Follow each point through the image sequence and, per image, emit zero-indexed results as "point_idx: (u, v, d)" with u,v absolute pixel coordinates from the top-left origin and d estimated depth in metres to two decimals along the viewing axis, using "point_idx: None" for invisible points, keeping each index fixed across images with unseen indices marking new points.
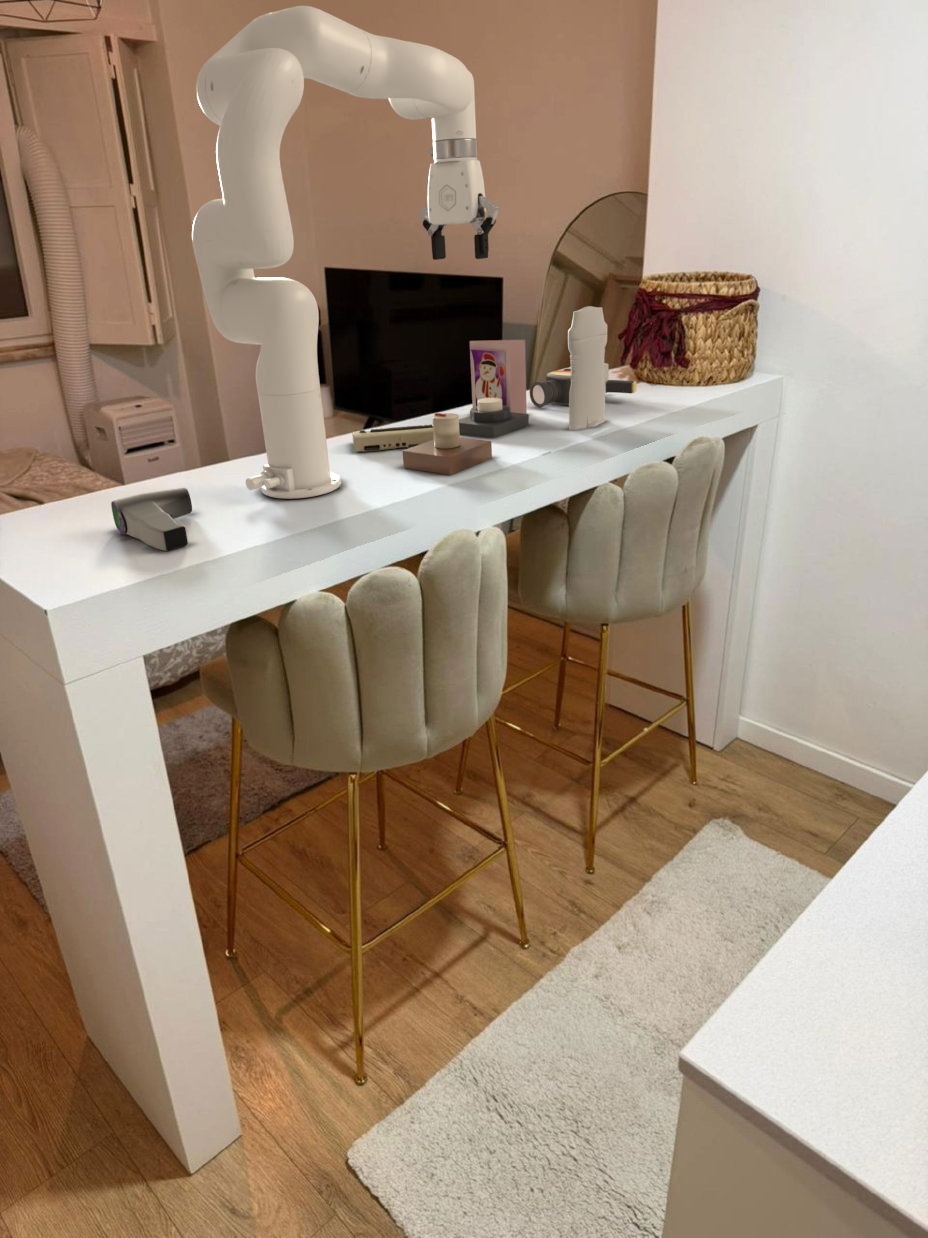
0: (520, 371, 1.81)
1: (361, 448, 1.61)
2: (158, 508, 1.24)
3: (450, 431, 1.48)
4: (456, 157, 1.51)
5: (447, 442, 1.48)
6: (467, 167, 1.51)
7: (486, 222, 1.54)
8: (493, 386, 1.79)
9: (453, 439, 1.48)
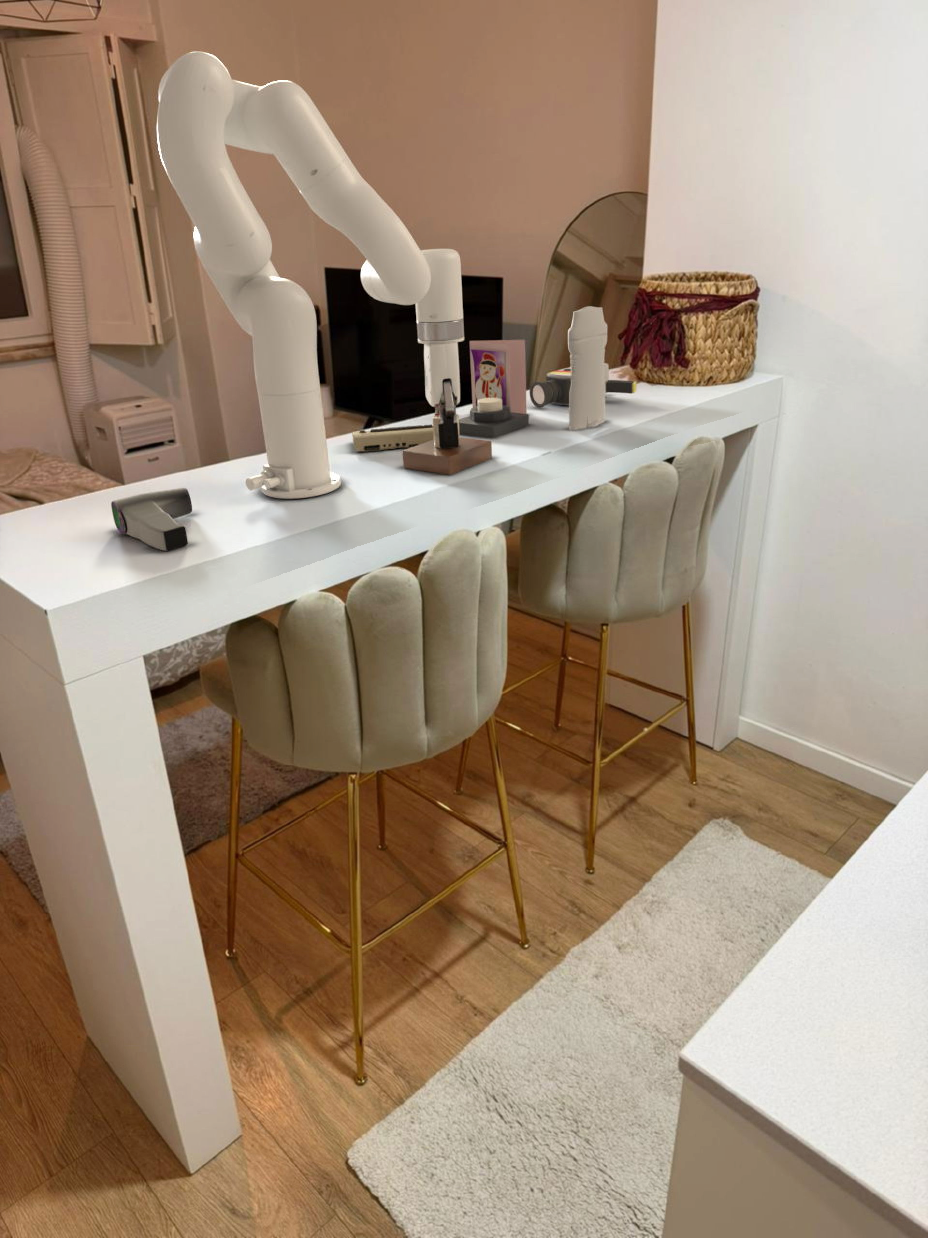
0: (520, 371, 1.81)
1: (361, 448, 1.61)
2: (158, 508, 1.24)
3: None
4: (424, 340, 1.41)
5: None
6: (431, 352, 1.40)
7: (443, 414, 1.44)
8: (493, 386, 1.79)
9: None
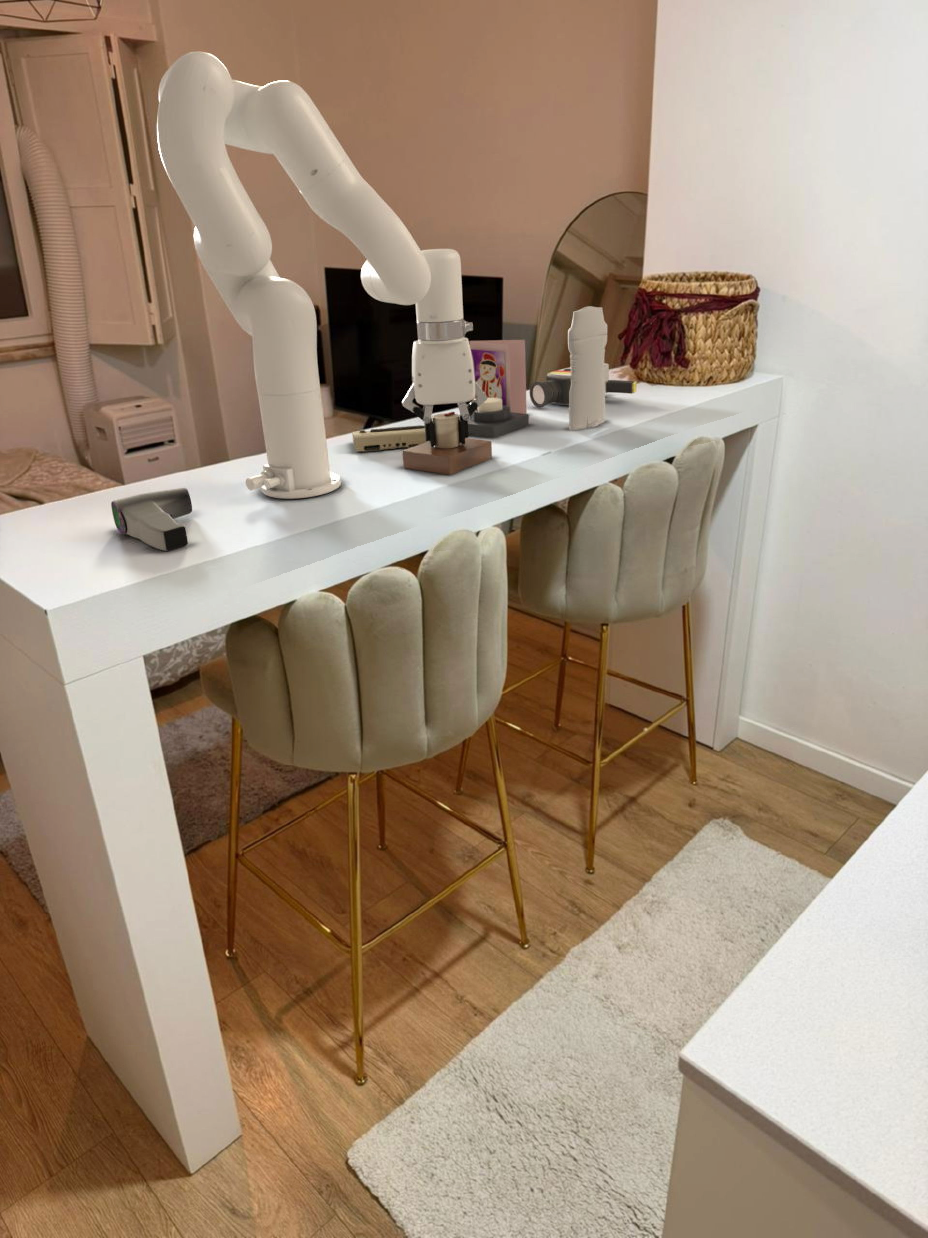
0: (520, 371, 1.81)
1: (361, 448, 1.61)
2: (158, 508, 1.24)
3: None
4: None
5: None
6: None
7: None
8: (493, 386, 1.79)
9: (435, 439, 1.49)
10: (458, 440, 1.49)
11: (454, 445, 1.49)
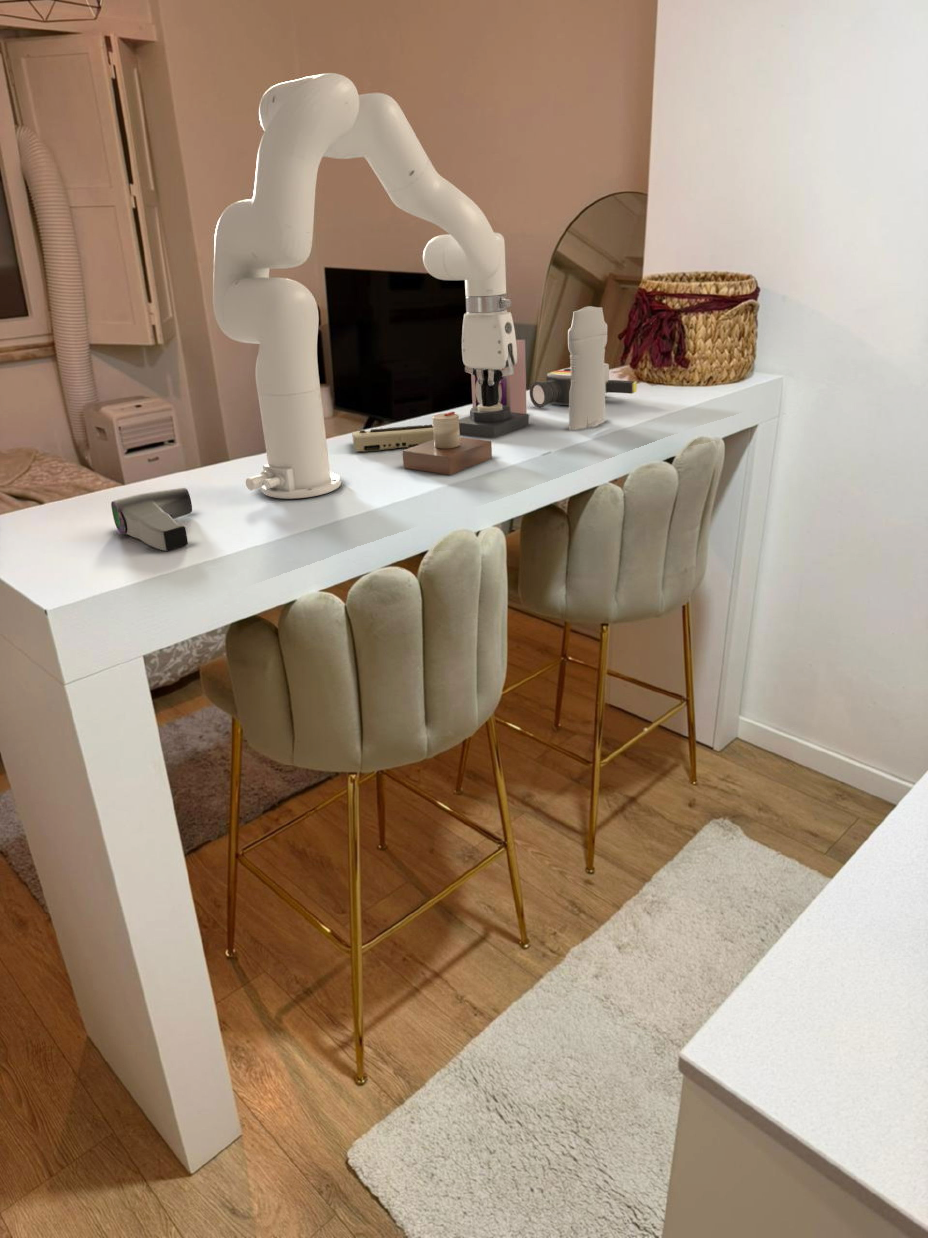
0: (520, 371, 1.81)
1: (361, 448, 1.61)
2: (158, 508, 1.24)
3: (433, 430, 1.49)
4: None
5: (434, 439, 1.50)
6: None
7: None
8: None
9: (435, 439, 1.49)
10: (458, 440, 1.49)
11: (454, 445, 1.49)
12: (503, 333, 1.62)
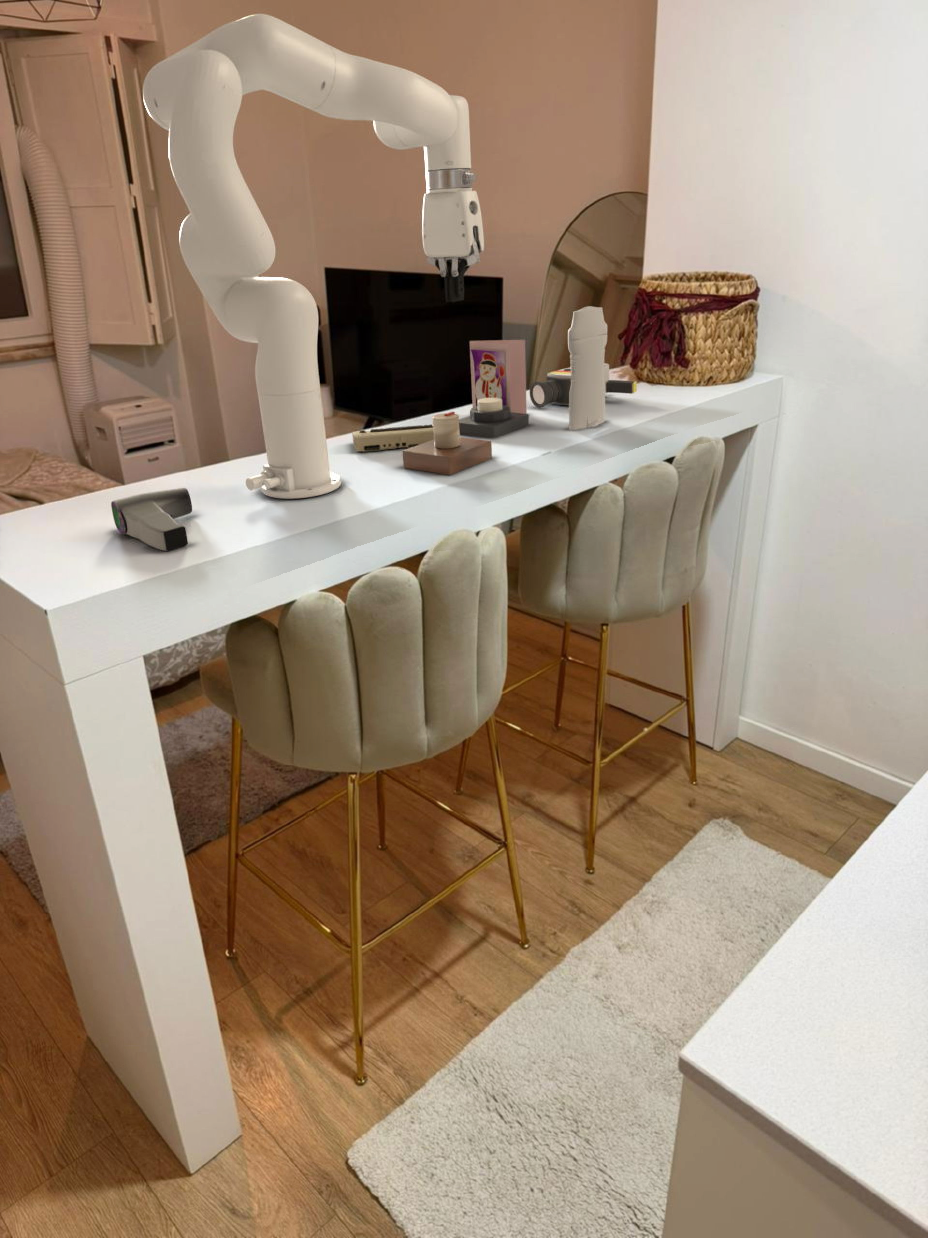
0: (520, 371, 1.81)
1: (361, 448, 1.61)
2: (158, 508, 1.24)
3: (433, 430, 1.49)
4: None
5: (434, 439, 1.50)
6: None
7: None
8: (493, 386, 1.79)
9: (435, 439, 1.49)
10: (458, 440, 1.49)
11: (454, 445, 1.49)
12: (467, 213, 1.44)
